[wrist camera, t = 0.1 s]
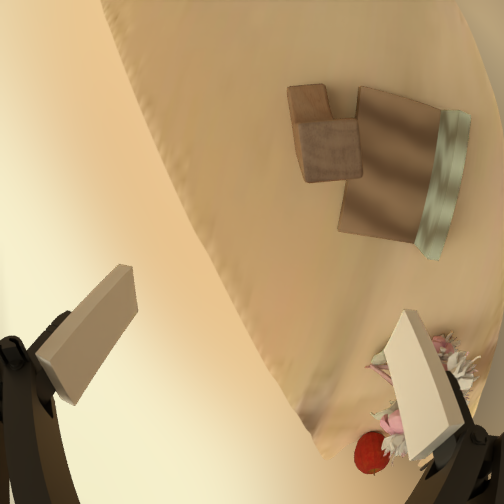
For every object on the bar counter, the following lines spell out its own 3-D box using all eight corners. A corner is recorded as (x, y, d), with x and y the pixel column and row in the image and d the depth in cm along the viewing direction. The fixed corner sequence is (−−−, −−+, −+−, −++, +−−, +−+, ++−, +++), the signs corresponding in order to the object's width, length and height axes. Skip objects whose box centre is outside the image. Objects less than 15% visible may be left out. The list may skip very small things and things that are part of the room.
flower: (400, 402, 53) (466, 458, 28) (324, 392, 49) (388, 474, 25) (438, 324, 53) (521, 358, 28) (367, 297, 49) (468, 339, 25)
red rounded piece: (382, 439, 64) (387, 478, 51) (350, 444, 65) (352, 483, 53) (390, 423, 60) (398, 465, 47) (355, 428, 61) (359, 472, 49)
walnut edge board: (358, 87, 31) (372, 80, 25) (447, 114, 30) (471, 115, 24) (337, 227, 39) (345, 246, 34) (421, 241, 38) (438, 260, 33)
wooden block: (286, 90, 32) (285, 61, 16) (320, 87, 31) (349, 57, 15) (296, 156, 36) (304, 184, 20) (330, 153, 35) (365, 179, 19)
